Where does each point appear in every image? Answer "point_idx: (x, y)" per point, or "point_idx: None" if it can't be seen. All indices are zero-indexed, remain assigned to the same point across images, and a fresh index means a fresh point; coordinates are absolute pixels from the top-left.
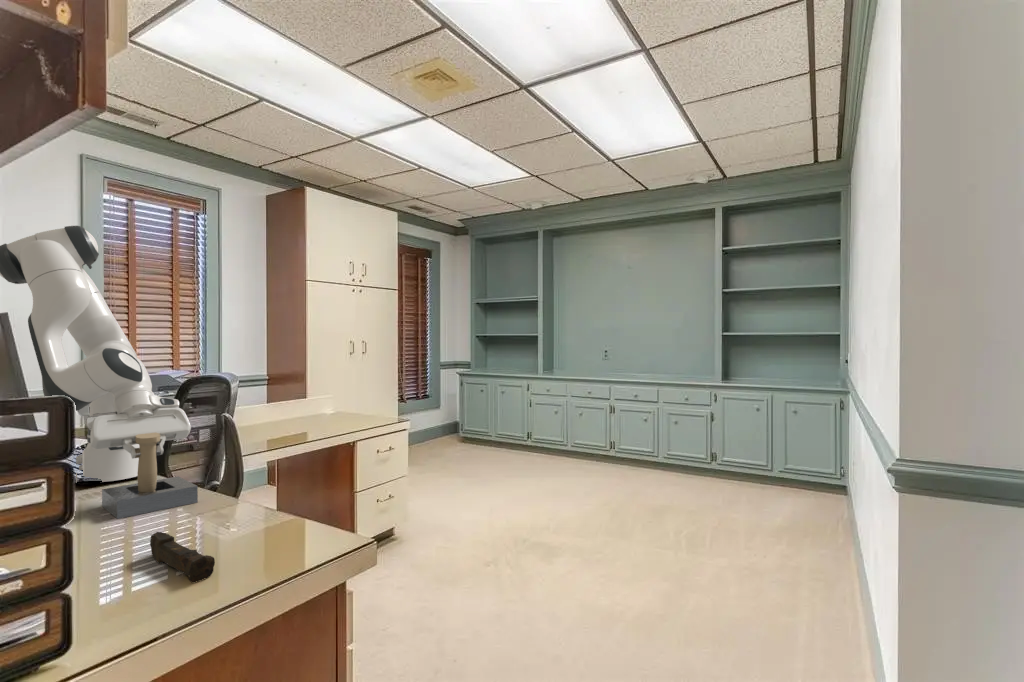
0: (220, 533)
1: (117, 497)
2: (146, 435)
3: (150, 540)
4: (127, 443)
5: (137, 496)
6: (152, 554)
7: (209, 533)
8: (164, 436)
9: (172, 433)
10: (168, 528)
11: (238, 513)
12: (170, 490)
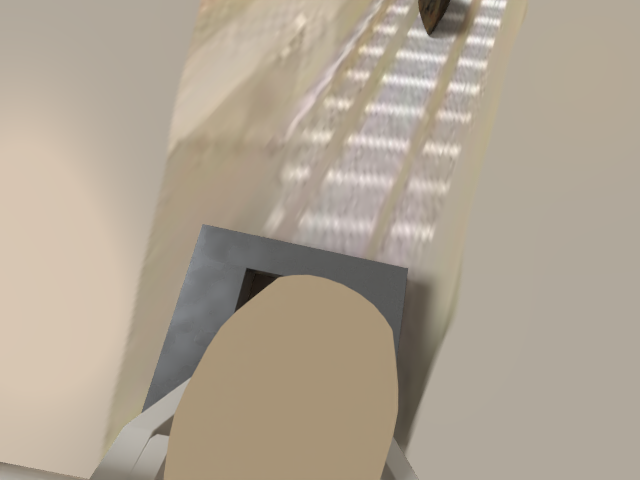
0: (324, 24)
1: (394, 306)
2: (300, 419)
3: (448, 3)
4: (408, 476)
5: (358, 264)
6: (435, 25)
7: (333, 39)
8: (113, 457)
9: (14, 466)
10: (358, 120)
11: (234, 82)
12: (274, 245)
